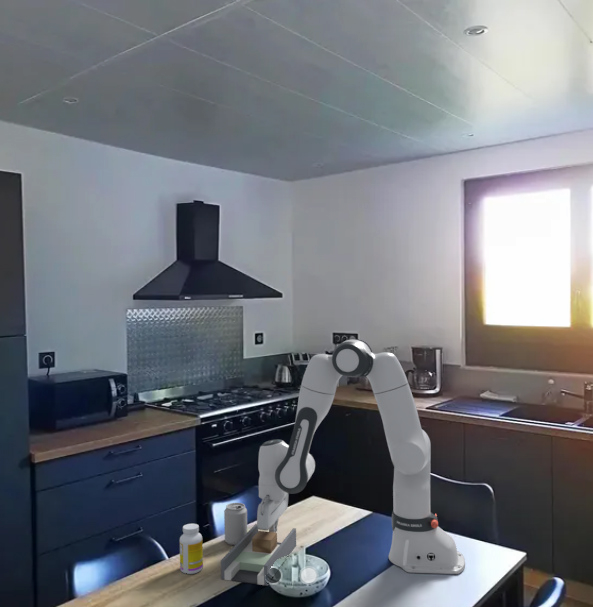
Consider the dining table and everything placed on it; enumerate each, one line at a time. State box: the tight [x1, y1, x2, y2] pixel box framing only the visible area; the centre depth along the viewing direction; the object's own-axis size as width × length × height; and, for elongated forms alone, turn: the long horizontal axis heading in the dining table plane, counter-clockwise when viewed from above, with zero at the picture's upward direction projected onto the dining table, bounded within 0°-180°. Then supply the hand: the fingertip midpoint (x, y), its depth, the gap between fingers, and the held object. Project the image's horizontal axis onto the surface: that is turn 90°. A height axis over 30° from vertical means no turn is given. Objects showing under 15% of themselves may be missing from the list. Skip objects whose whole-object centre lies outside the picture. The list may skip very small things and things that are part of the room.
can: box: [223, 502, 248, 546], centre depth 194 cm, size 8×8×12 cm
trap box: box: [220, 523, 297, 587], centre depth 180 cm, size 14×28×6 cm, turn 163°
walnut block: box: [252, 530, 278, 554], centre depth 183 cm, size 6×6×4 cm
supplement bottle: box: [179, 523, 204, 575], centre depth 175 cm, size 7×7×13 cm
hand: (273, 533), depth 190 cm, fingers closed
